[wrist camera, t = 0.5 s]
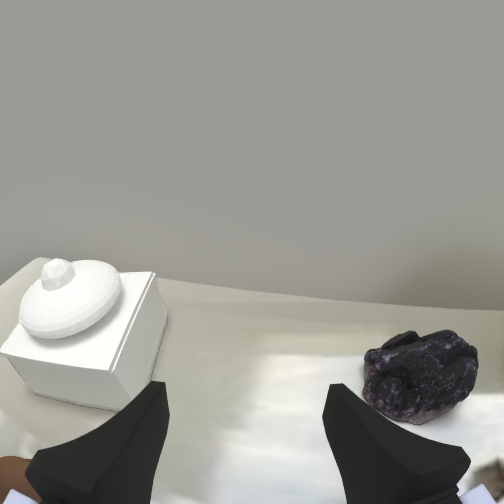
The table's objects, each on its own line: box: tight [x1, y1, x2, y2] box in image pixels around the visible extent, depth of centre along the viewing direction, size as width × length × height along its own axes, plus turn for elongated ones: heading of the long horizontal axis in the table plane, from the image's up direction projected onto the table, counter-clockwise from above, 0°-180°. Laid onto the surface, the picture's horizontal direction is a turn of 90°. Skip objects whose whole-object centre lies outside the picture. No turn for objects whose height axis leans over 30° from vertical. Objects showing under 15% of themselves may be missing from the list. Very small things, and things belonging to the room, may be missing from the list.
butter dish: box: [0, 258, 168, 412], centre depth 33 cm, size 18×18×16 cm
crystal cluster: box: [363, 330, 478, 425], centre depth 27 cm, size 13×14×10 cm
